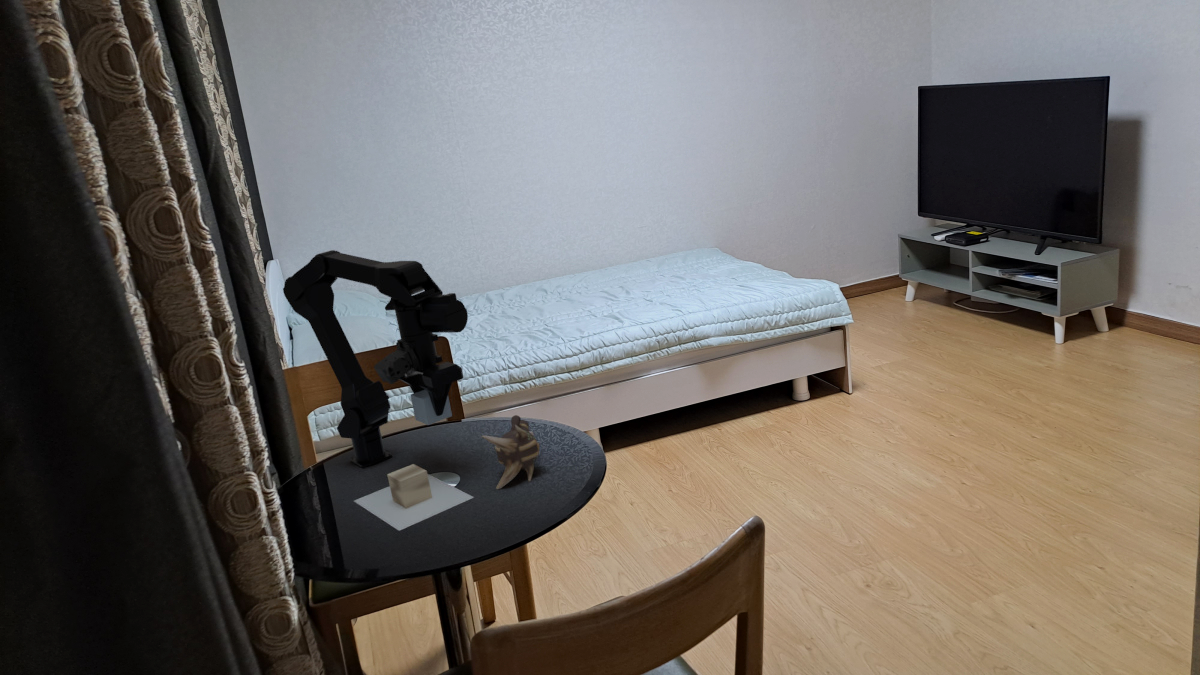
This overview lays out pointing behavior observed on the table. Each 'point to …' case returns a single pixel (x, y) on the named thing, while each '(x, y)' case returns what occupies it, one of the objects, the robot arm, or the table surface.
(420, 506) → the board
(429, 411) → the blue block
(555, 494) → the table surface
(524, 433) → the toy
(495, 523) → the table surface
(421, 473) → the maple block
